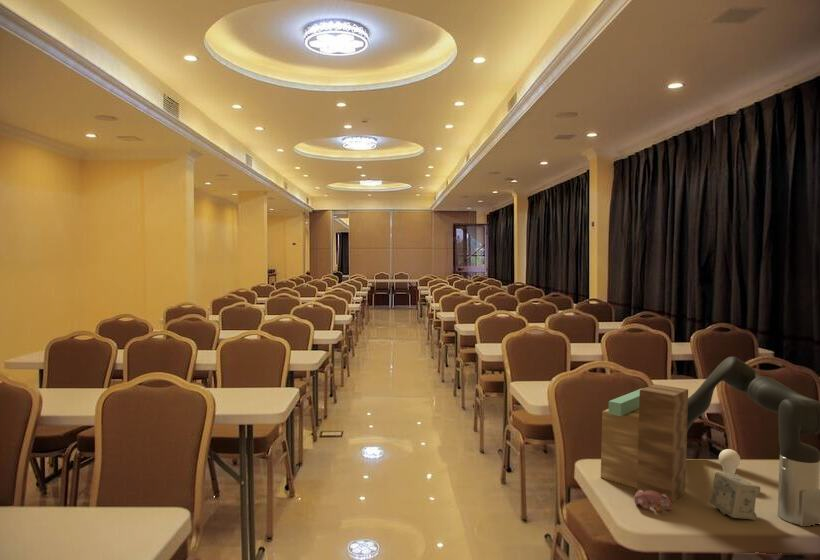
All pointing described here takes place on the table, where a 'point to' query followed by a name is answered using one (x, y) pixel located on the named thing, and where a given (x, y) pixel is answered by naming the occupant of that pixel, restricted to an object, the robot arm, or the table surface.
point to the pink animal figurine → (652, 500)
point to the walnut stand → (662, 440)
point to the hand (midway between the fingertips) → (641, 393)
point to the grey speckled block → (734, 496)
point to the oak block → (620, 447)
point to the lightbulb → (729, 461)
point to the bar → (624, 404)
